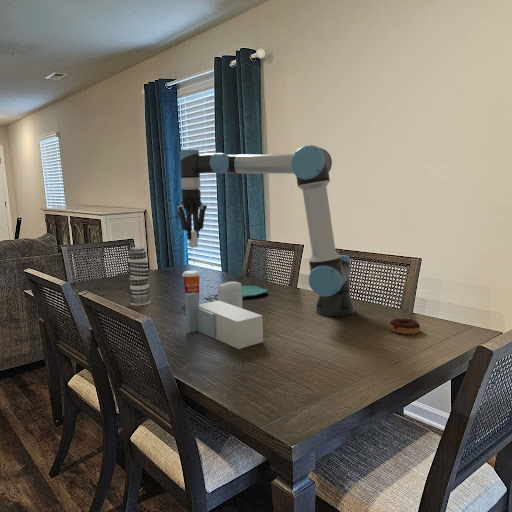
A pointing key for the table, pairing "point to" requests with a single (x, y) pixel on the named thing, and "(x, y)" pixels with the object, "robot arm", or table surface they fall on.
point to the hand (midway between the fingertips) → (193, 247)
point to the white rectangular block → (235, 324)
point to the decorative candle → (138, 276)
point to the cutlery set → (247, 292)
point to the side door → (198, 316)
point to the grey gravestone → (231, 293)
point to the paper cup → (191, 282)
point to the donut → (404, 326)
